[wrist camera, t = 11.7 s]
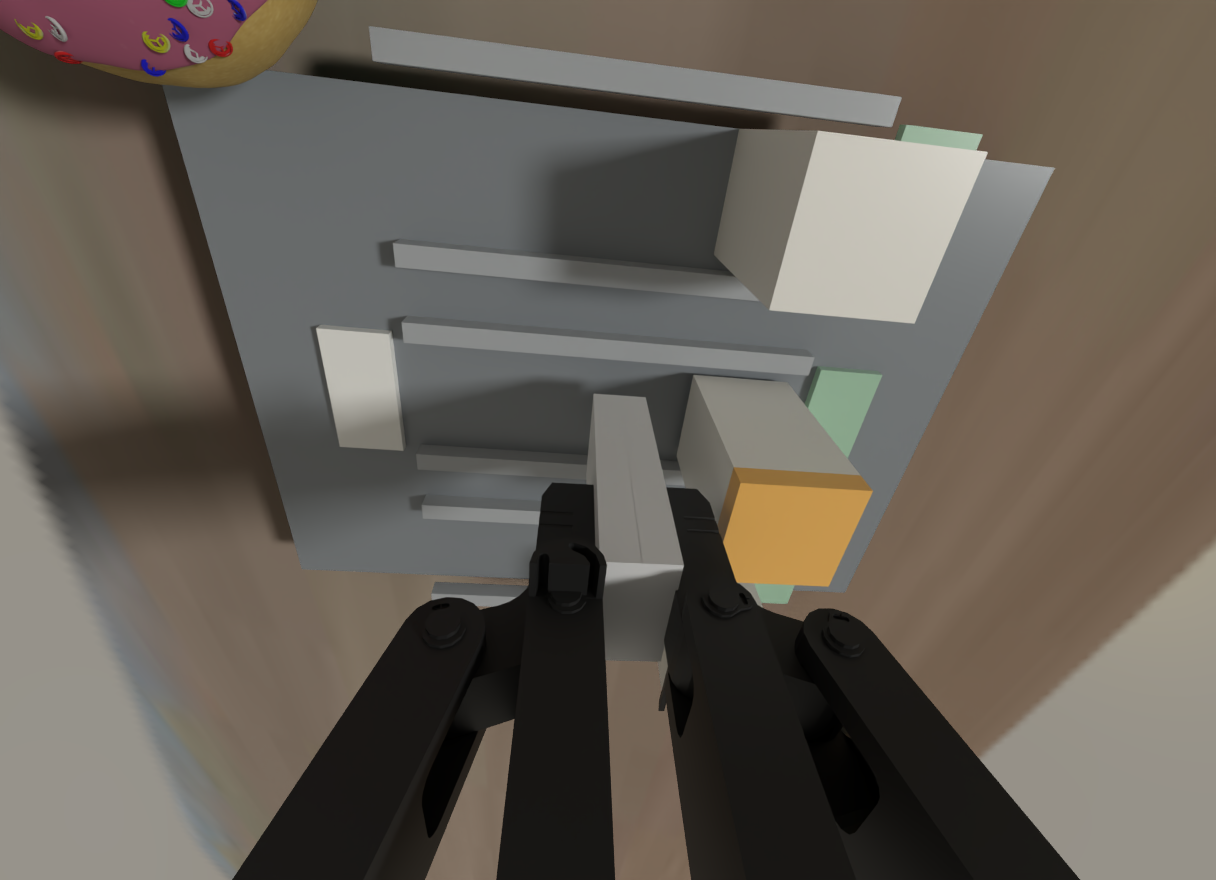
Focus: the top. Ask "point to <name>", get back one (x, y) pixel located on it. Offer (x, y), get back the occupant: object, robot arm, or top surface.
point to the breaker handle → (770, 480)
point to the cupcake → (162, 36)
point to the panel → (570, 285)
